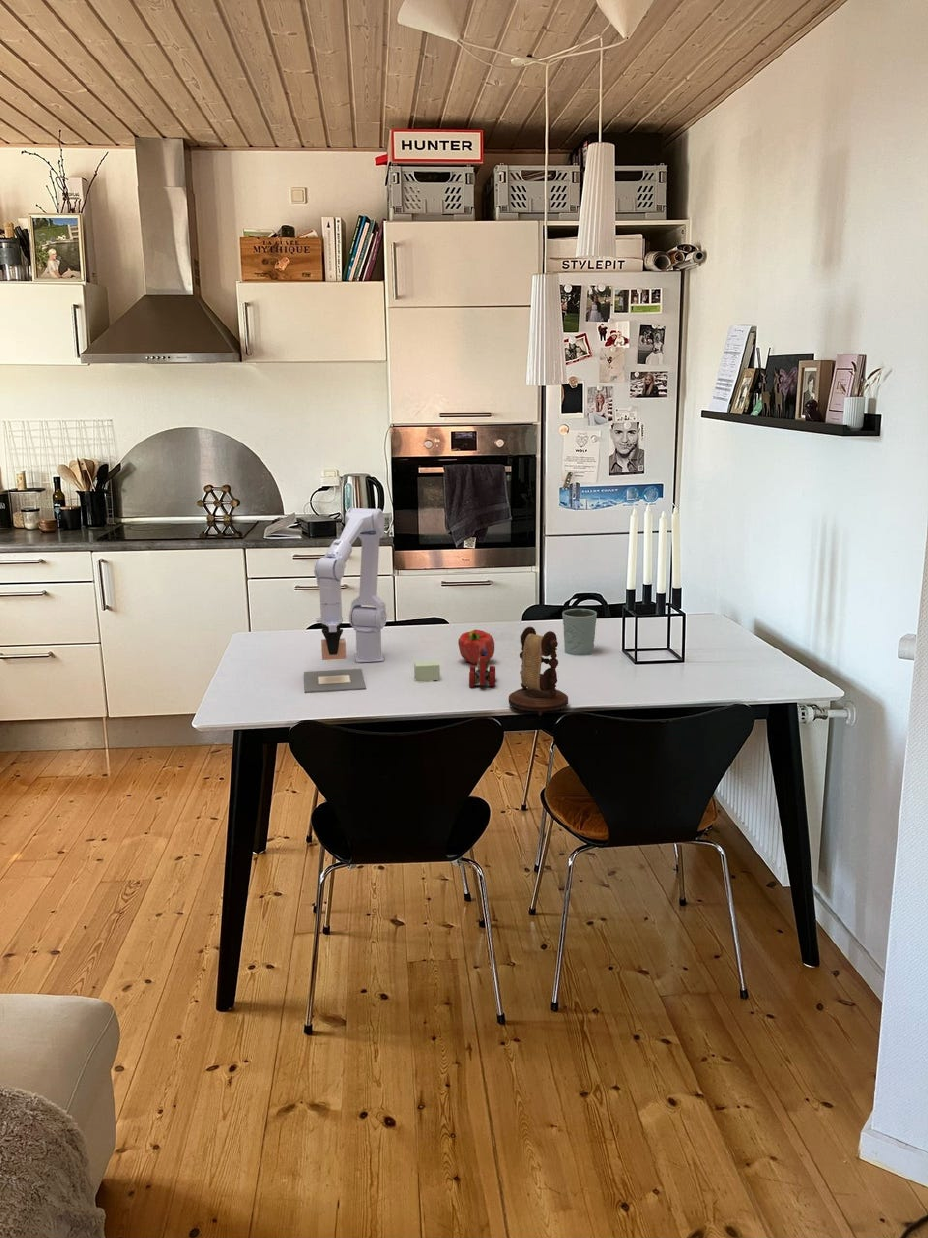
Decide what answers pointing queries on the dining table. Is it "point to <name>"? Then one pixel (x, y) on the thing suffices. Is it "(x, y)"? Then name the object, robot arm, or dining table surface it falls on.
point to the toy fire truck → (482, 670)
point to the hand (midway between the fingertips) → (332, 651)
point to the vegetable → (475, 645)
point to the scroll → (538, 674)
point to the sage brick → (426, 671)
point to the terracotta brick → (339, 655)
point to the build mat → (334, 680)
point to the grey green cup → (579, 631)
